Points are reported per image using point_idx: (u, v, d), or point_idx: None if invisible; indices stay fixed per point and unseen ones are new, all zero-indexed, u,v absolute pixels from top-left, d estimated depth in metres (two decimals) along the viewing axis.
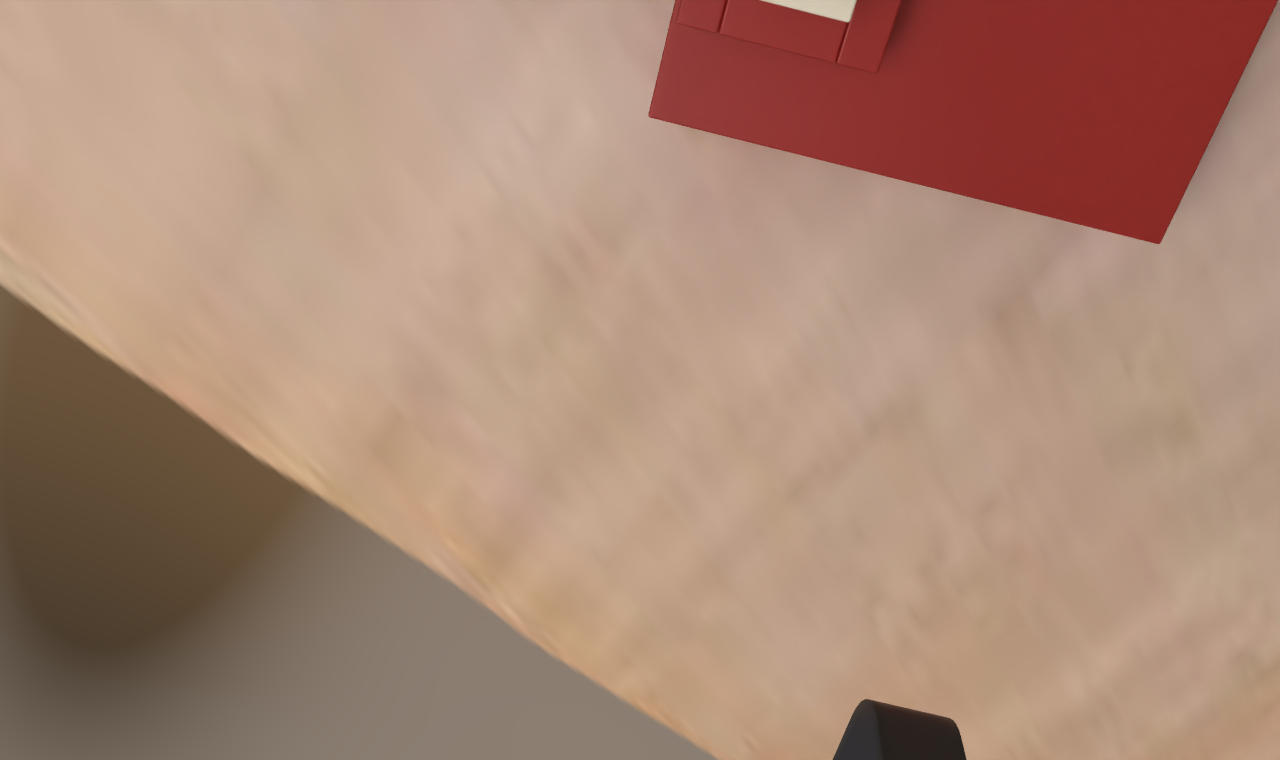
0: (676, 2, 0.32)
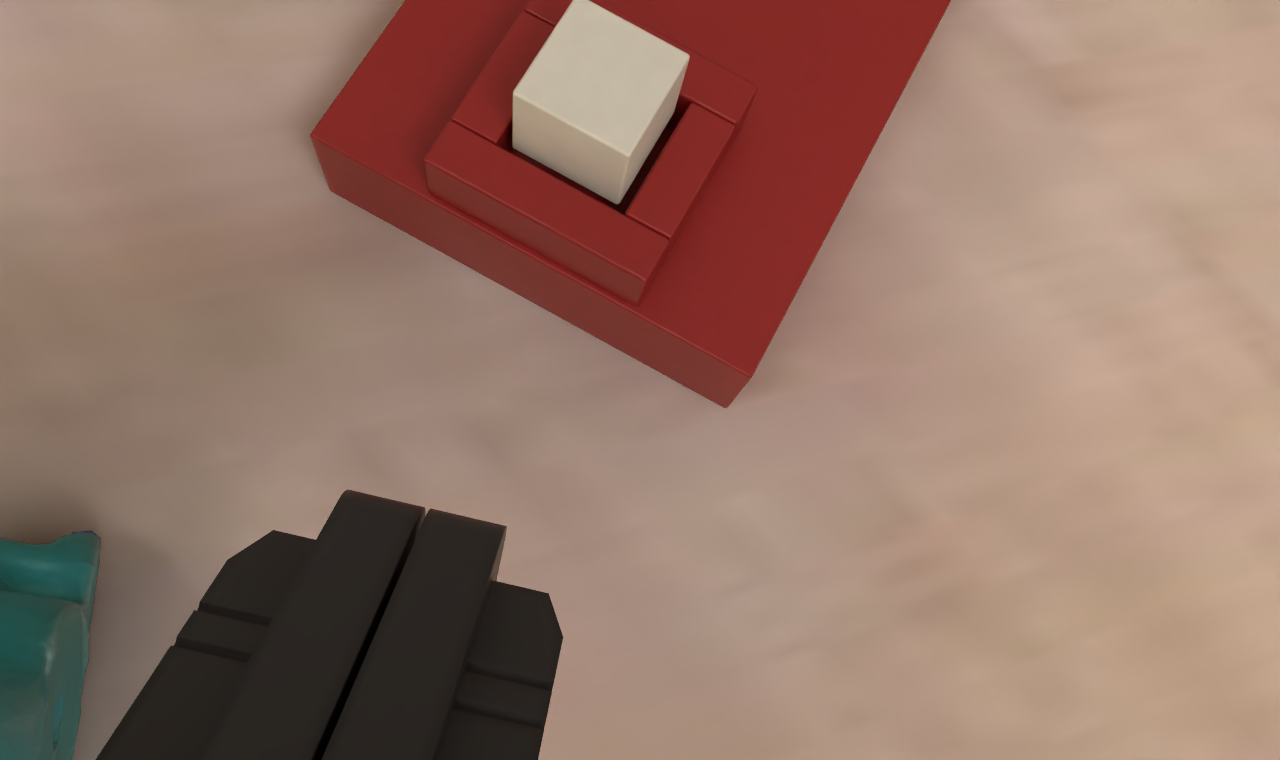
0: (625, 307, 0.27)
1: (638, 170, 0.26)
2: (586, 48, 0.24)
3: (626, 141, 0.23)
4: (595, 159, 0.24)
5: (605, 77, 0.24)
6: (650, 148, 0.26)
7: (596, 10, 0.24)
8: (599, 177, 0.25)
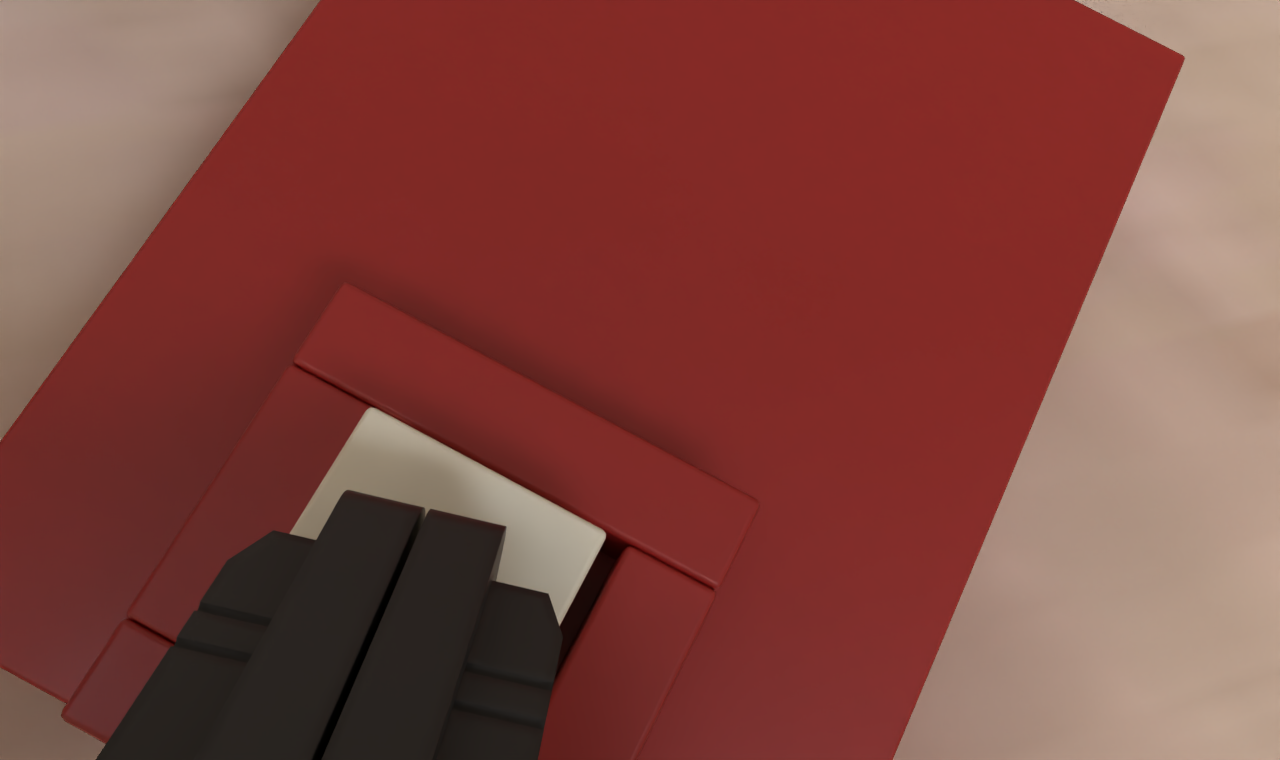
0: None
1: None
2: None
3: None
4: None
5: None
6: None
7: (408, 443, 0.11)
8: None
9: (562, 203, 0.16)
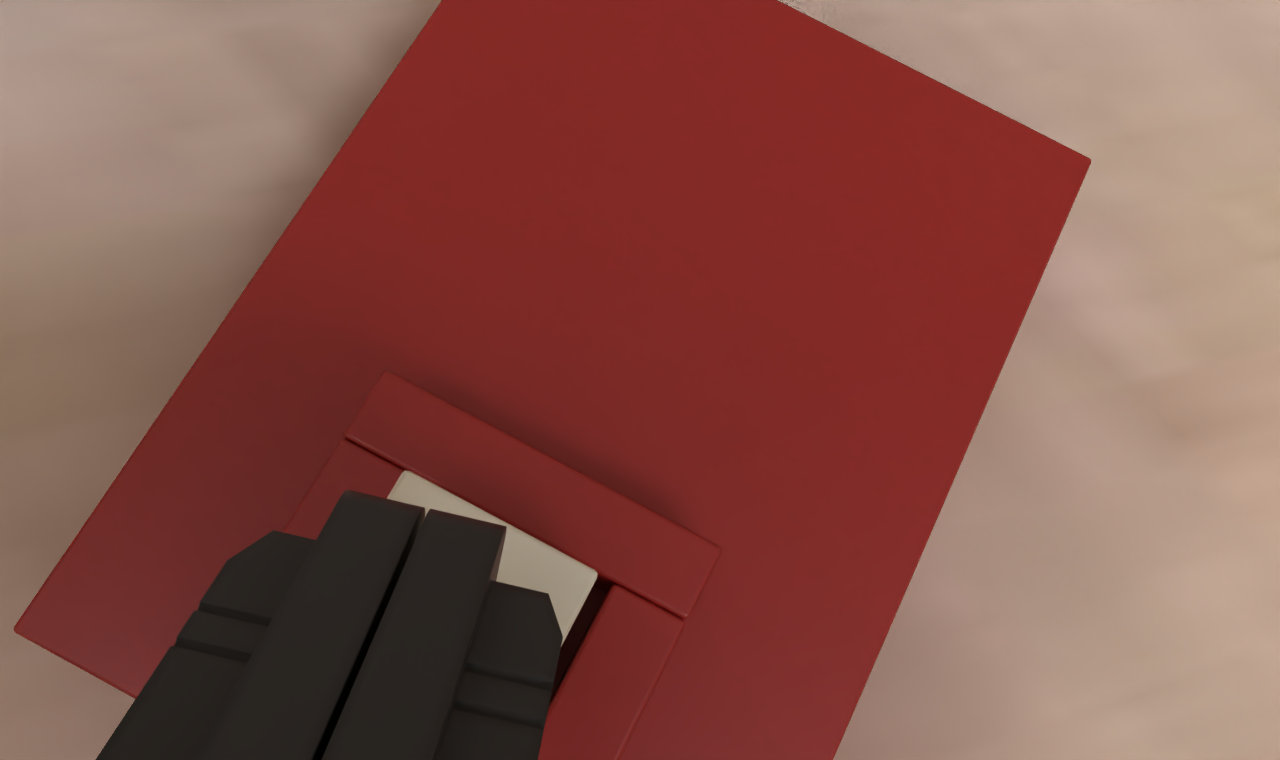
0: None
1: None
2: None
3: None
4: None
5: None
6: None
7: (436, 500, 0.14)
8: None
9: (561, 292, 0.19)
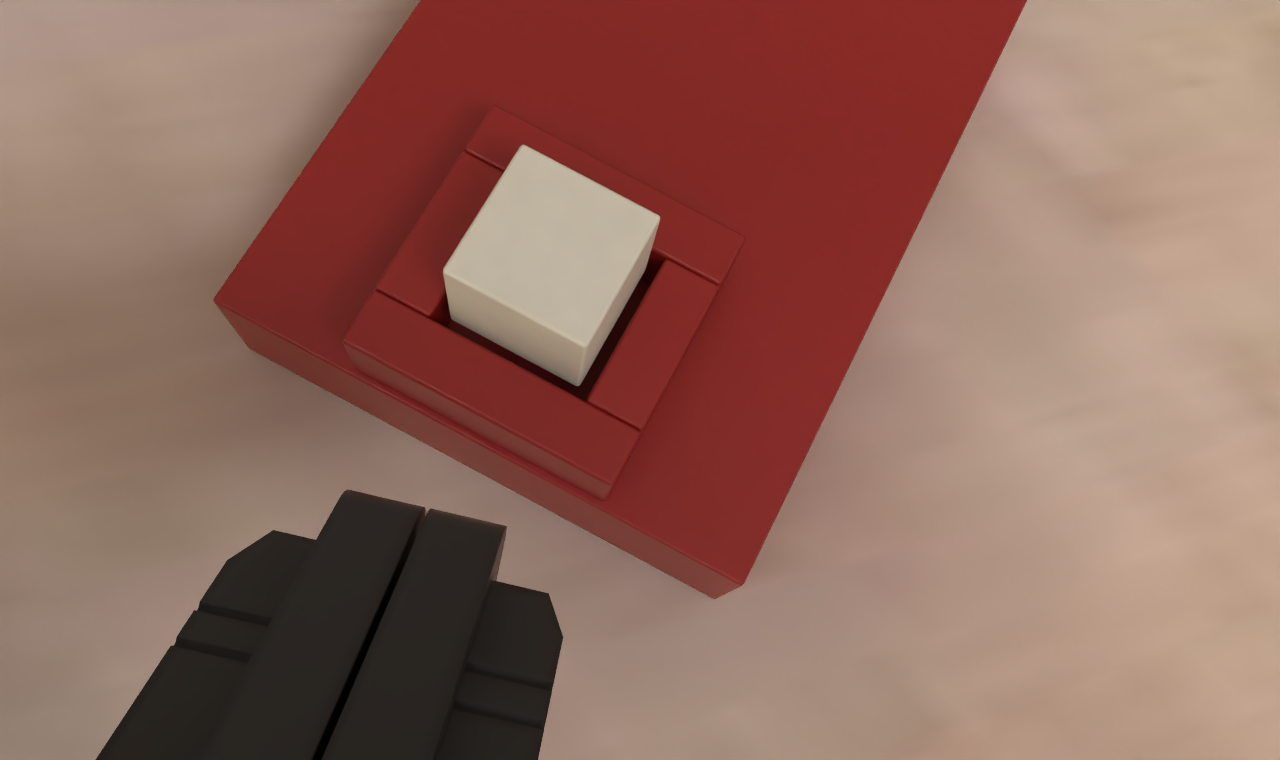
0: (591, 502, 0.22)
1: (602, 343, 0.21)
2: (534, 211, 0.19)
3: (583, 328, 0.19)
4: (546, 344, 0.20)
5: (557, 248, 0.19)
6: (617, 317, 0.21)
7: (545, 164, 0.20)
8: (554, 360, 0.20)
9: (620, 71, 0.25)
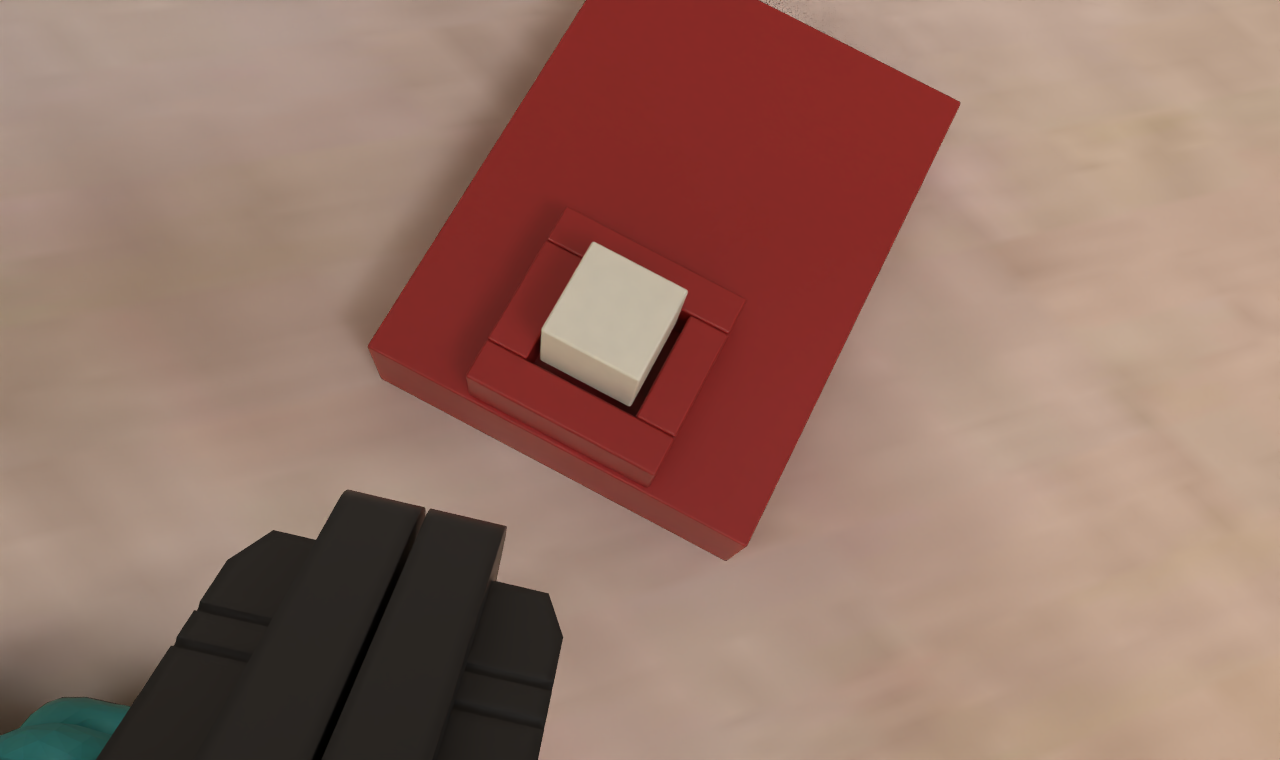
0: (638, 488, 0.31)
1: (646, 376, 0.31)
2: (602, 288, 0.29)
3: (637, 368, 0.28)
4: (610, 378, 0.29)
5: (618, 313, 0.28)
6: (656, 357, 0.31)
7: (609, 255, 0.29)
8: (614, 389, 0.30)
9: (653, 175, 0.34)
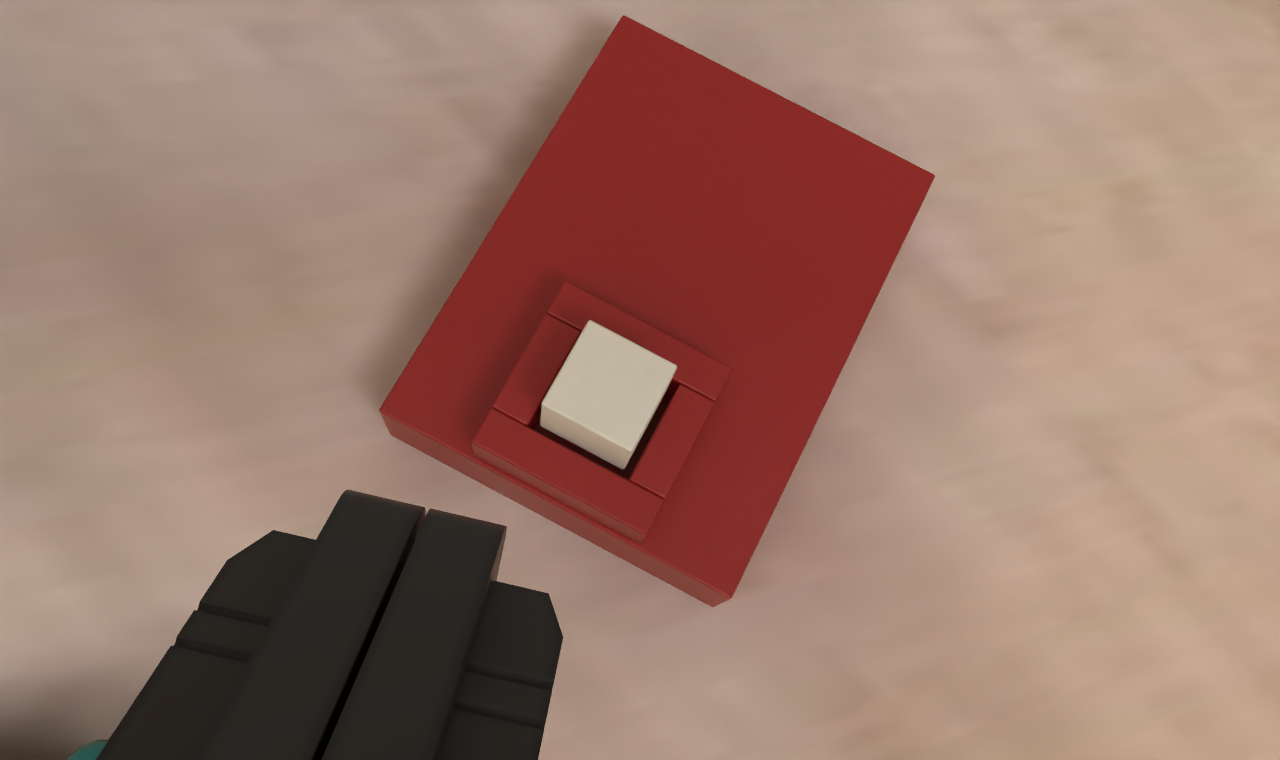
0: (631, 544, 0.34)
1: None
2: (597, 364, 0.31)
3: (629, 439, 0.30)
4: (605, 446, 0.31)
5: (612, 388, 0.31)
6: None
7: (604, 332, 0.31)
8: (608, 455, 0.32)
9: (646, 246, 0.36)
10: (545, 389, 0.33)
